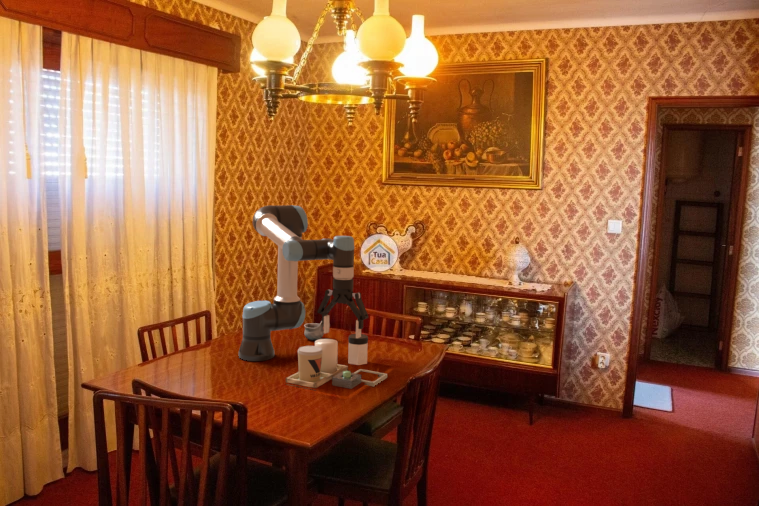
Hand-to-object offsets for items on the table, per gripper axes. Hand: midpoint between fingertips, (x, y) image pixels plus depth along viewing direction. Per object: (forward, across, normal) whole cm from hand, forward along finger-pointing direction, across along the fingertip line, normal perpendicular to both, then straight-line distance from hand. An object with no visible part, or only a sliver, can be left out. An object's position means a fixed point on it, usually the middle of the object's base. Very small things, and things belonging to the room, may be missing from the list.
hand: (342, 335), depth 224 cm
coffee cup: (+18, -12, -2) cm, 22 cm away
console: (+20, +2, +1) cm, 20 cm away
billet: (+18, -13, +10) cm, 24 cm away
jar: (+20, -8, +28) cm, 35 cm away
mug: (+19, -42, +51) cm, 69 cm away
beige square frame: (+20, +4, +12) cm, 24 cm away
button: (+18, +2, +1) cm, 18 cm away
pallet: (+19, -12, +4) cm, 23 cm away
